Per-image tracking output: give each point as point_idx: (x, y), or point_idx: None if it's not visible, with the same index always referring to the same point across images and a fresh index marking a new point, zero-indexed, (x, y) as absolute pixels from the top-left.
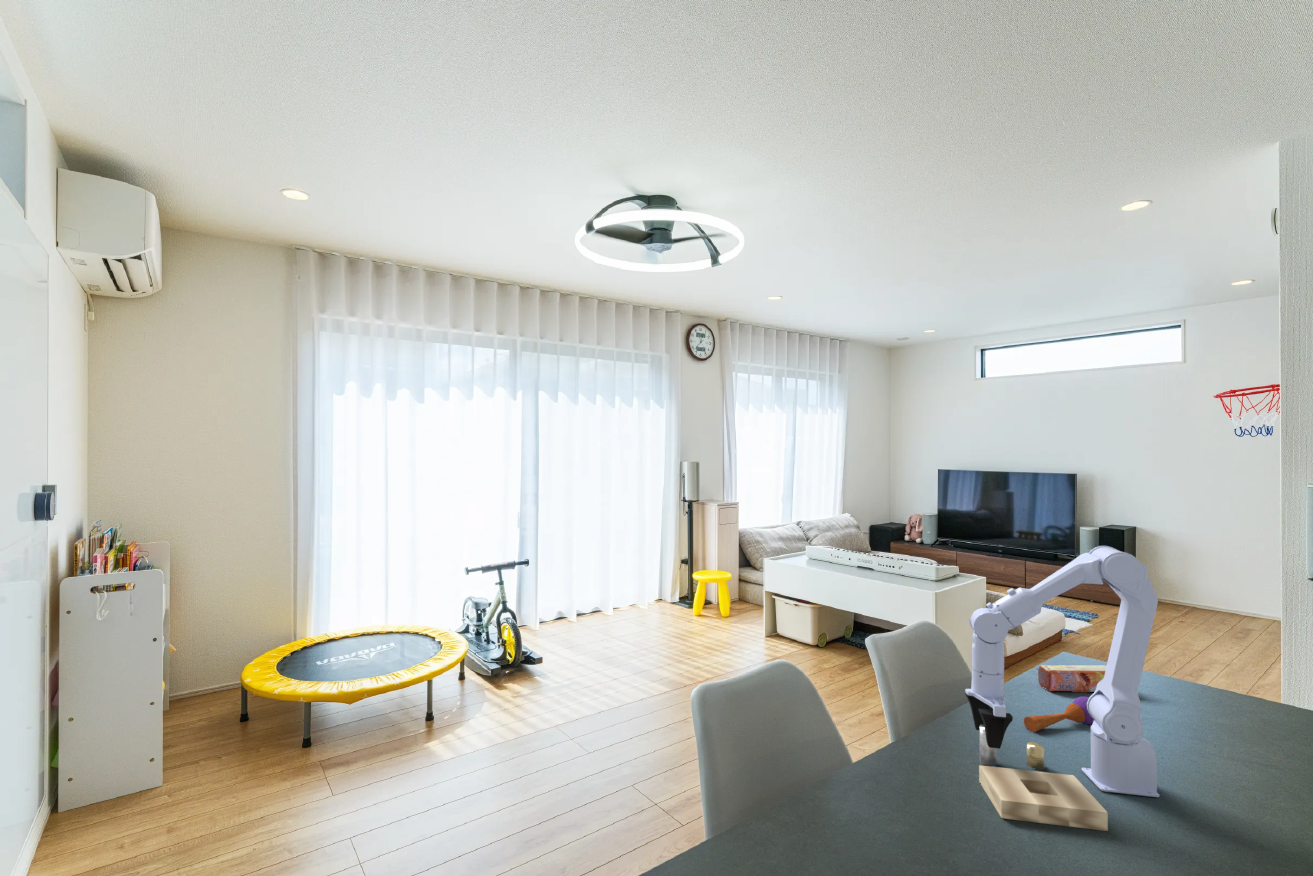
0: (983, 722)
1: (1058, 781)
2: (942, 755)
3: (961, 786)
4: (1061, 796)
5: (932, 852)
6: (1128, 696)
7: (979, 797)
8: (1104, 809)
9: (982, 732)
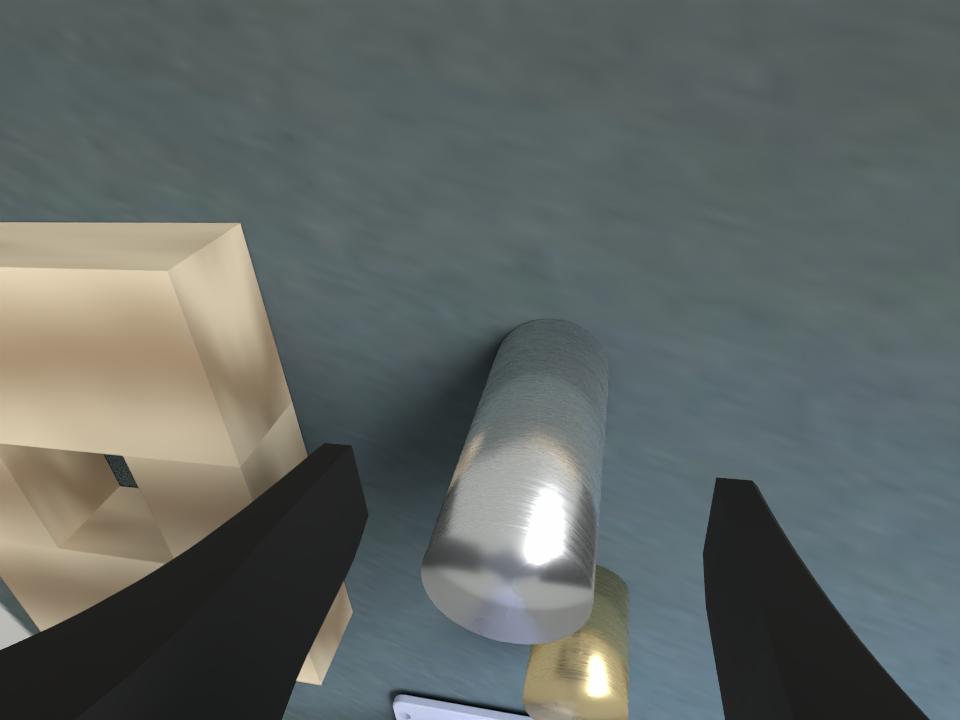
0: (182, 611)
1: None
2: (615, 10)
3: (97, 67)
4: (58, 554)
5: None
6: None
7: (27, 161)
8: None
9: (464, 502)
